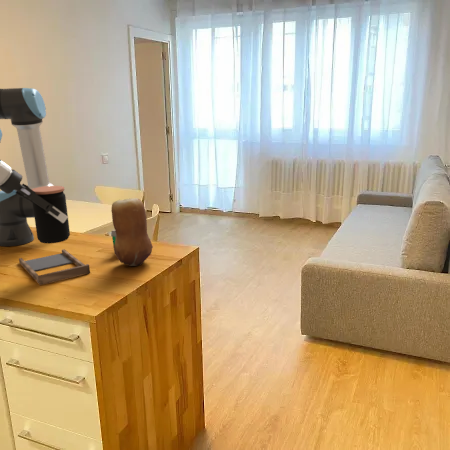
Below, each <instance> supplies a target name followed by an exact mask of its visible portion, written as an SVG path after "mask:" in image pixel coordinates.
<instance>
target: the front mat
mask: <svg viewBox="0 0 450 450" xmlns="http://www.w3.org/2000/svg"><path fill="white" fill-rule="evenodd" d="M24 261H25V262H26V263H27V264H28V265H29V266H30V267H31V268H32V269H33V270H34V271H35V272H39V271H45V270H48V269H52V268H56V267H61V266H65V265H70V264H71V265H72V264H74V263H73V261H71V260H70V259H69V258H67V257H66V256H65V255H64V254H62V252H60V253H57V254H51V255H47V256H42V257H38V258H33V259H29V260H24Z"/></svg>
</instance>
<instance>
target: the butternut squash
mask: <svg viewBox="0 0 450 450" xmlns="http://www.w3.org/2000/svg"><path fill="white" fill-rule="evenodd" d="M110 212H111V219H112V226H113V228H114V231H116V240H115V245H114V246H113V250H114V249H115V253H114V255H115V256H116V259H117V260H118V261H119V262H120V263H121V264H124V265H127V266H130V267H138V266H139V265H140V266H141V265H142V264H144V263H145V261H146V260H147V259H148V258H149V257H150V255H151V254H152V253H153V247H154V246H153V244H152V241H151V239H150V237H149V234H148V224H147V223H148V221H147V220H148V219H147V218H148V217H147V213H146V208H145V204H144V202H143V201H142V200H141V199H140V198H137V197H131V198H126V199H118V200H115V201H113V202H112V204H111V211H110Z"/></svg>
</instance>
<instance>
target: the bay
mask: <svg viewBox="0 0 450 450" xmlns="http://www.w3.org/2000/svg"><path fill="white" fill-rule="evenodd" d="M61 253H62V254H64V255H65V256H66V257H67V258H69V259H70V260H71V261H73V263H72V264H74V265H75V266H73V267H70V268H65V269H62V270H56V271H53V272H48V273H44V274H38V273H37V271H34V270H33V269H32V268H31V267H30V266H29V265H28V264H27V263H26V262H25V261H26V260H24V259H23V258H22V257H20V258H18V260H19V264H20V265H21V266H22V267H23V269H24V270H26V272H27V273H28V274H29V276H31V278H33V279H34V281H36V282H37V284H39V286H42V285H46V284H51V283H55V282H59V281H62V280H63V281H64V280H67V279H73V278H75V277H79V276H83V275H87V274H88V275H89V274H91V269H90V268H91V267H90V265H89V264H88V263H87V264H84V263H83V262H82V261H81V260H79V259H78V258H77V257H75V255H73V254H72V253H70V252H69V251H67V250H66V249H61Z"/></svg>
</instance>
